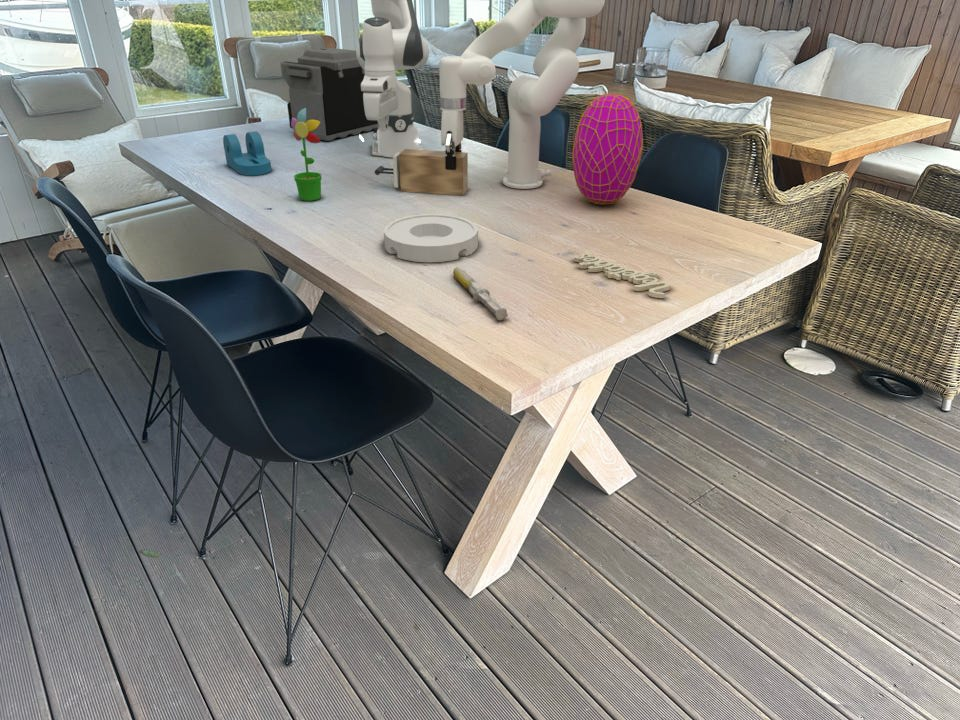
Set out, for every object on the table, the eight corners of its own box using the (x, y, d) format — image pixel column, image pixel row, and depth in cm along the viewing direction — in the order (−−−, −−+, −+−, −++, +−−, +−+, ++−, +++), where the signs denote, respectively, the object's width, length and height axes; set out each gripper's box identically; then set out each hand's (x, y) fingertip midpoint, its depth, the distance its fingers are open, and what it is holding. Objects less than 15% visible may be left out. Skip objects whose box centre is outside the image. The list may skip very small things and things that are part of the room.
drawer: (375, 186, 211) (372, 155, 206) (380, 181, 215) (378, 150, 210) (452, 191, 207) (452, 159, 202) (456, 186, 211) (456, 155, 206)
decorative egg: (611, 217, 189) (624, 103, 174) (555, 202, 201) (562, 94, 185) (647, 202, 202) (662, 94, 186) (592, 188, 213) (602, 86, 198)
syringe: (449, 274, 155) (449, 263, 153) (465, 272, 156) (464, 260, 154) (490, 323, 135) (491, 310, 133) (508, 319, 136) (508, 307, 134)
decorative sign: (686, 282, 150) (660, 295, 144) (686, 286, 150) (659, 300, 144) (592, 249, 166) (565, 259, 160) (592, 253, 167) (565, 263, 161)
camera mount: (227, 164, 233) (221, 132, 227) (257, 160, 238) (252, 129, 233) (244, 176, 220) (239, 143, 215) (276, 172, 225) (271, 139, 220)
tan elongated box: (400, 191, 209) (398, 154, 204) (406, 185, 215) (405, 148, 209) (463, 195, 206) (463, 157, 201) (467, 189, 212) (467, 152, 206)
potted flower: (330, 196, 204) (321, 108, 191) (314, 203, 197) (304, 113, 185) (304, 192, 207) (294, 105, 194) (288, 199, 201) (276, 109, 188)
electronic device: (351, 120, 297) (345, 44, 282) (389, 127, 286) (385, 48, 271) (285, 135, 271) (274, 52, 256) (324, 143, 260) (315, 57, 245)
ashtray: (391, 227, 181) (390, 212, 179) (479, 229, 180) (479, 214, 178) (377, 261, 161) (376, 245, 159) (476, 263, 160) (476, 247, 158)
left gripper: (381, 75, 207) (384, 123, 213) (358, 85, 189) (362, 137, 196) (401, 76, 205) (404, 124, 212) (380, 86, 188) (383, 138, 195)
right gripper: (447, 97, 204) (448, 158, 214) (432, 108, 190) (434, 173, 199) (472, 98, 203) (471, 160, 212) (459, 109, 189) (459, 175, 198)
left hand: (383, 130), depth 204 cm, fingers closed
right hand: (453, 165), depth 206 cm, fingers closed on tan elongated box, 6 cm apart
